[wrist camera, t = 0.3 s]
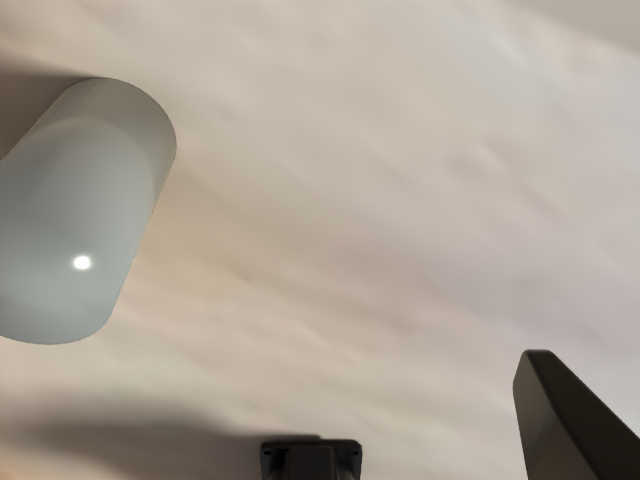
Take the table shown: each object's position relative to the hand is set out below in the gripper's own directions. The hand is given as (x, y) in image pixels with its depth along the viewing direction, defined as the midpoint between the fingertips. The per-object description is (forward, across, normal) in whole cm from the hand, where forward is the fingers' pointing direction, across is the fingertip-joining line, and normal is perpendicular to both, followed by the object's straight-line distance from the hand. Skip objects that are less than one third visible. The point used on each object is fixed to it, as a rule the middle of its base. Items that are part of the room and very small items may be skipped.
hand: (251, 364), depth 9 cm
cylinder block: (+15, +8, +3) cm, 17 cm away
